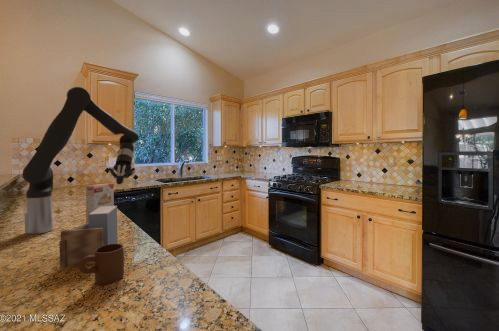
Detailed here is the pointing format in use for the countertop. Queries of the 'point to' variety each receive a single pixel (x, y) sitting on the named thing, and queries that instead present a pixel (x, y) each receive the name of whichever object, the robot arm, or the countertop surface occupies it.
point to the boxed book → (105, 223)
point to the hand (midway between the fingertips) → (119, 183)
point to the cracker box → (98, 197)
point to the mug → (105, 264)
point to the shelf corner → (79, 244)
